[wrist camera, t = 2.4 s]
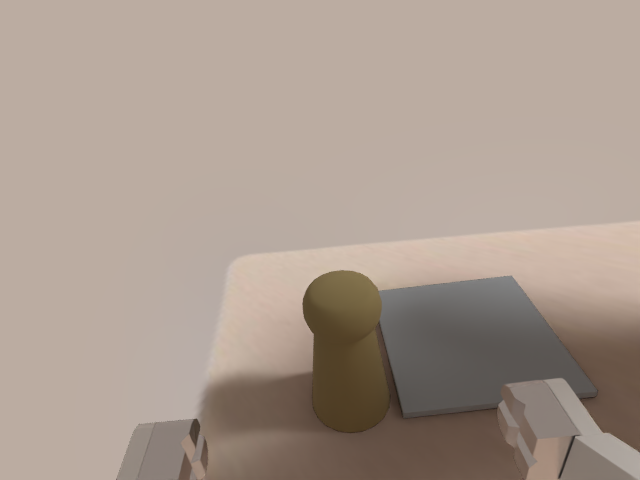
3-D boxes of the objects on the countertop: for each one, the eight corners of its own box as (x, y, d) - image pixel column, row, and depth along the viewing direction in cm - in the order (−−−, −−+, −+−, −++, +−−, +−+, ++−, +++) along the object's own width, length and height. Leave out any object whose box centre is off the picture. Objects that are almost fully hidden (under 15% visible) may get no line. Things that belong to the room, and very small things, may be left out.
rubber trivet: (510, 280, 42) (511, 275, 42) (596, 396, 31) (598, 391, 30) (372, 296, 43) (372, 291, 42) (403, 418, 31) (403, 413, 30)
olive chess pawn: (398, 376, 34) (398, 264, 28) (378, 443, 29) (372, 325, 23) (328, 359, 36) (314, 252, 30) (299, 419, 32) (276, 306, 26)
